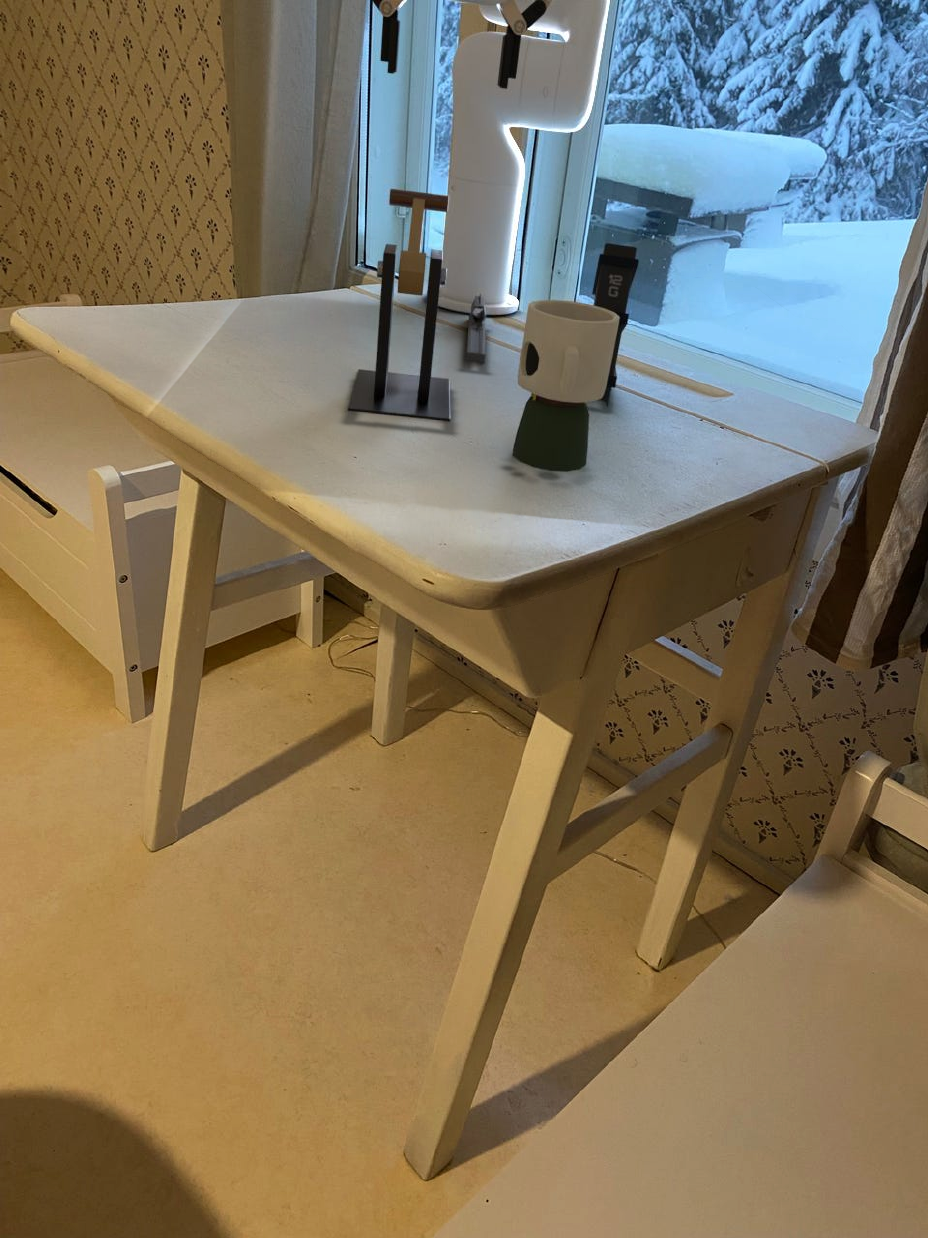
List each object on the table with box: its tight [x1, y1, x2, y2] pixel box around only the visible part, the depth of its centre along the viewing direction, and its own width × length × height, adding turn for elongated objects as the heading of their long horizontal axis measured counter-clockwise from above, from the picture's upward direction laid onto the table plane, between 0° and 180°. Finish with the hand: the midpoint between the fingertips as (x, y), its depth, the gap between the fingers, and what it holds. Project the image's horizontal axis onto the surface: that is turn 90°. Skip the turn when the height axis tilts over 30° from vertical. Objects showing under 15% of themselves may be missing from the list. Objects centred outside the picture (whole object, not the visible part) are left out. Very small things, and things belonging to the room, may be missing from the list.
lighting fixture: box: [465, 294, 487, 364], centre depth 107 cm, size 19×3×4 cm, turn 179°
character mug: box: [512, 299, 620, 473], centre depth 75 cm, size 11×7×13 cm, turn 177°
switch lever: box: [388, 188, 449, 297], centre depth 84 cm, size 13×6×2 cm, turn 1°
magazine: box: [591, 242, 640, 408], centre depth 95 cm, size 4×13×15 cm, turn 172°
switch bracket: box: [347, 243, 451, 422], centre depth 84 cm, size 12×9×14 cm
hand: (447, 80), depth 81 cm, fingers open, 9 cm apart
